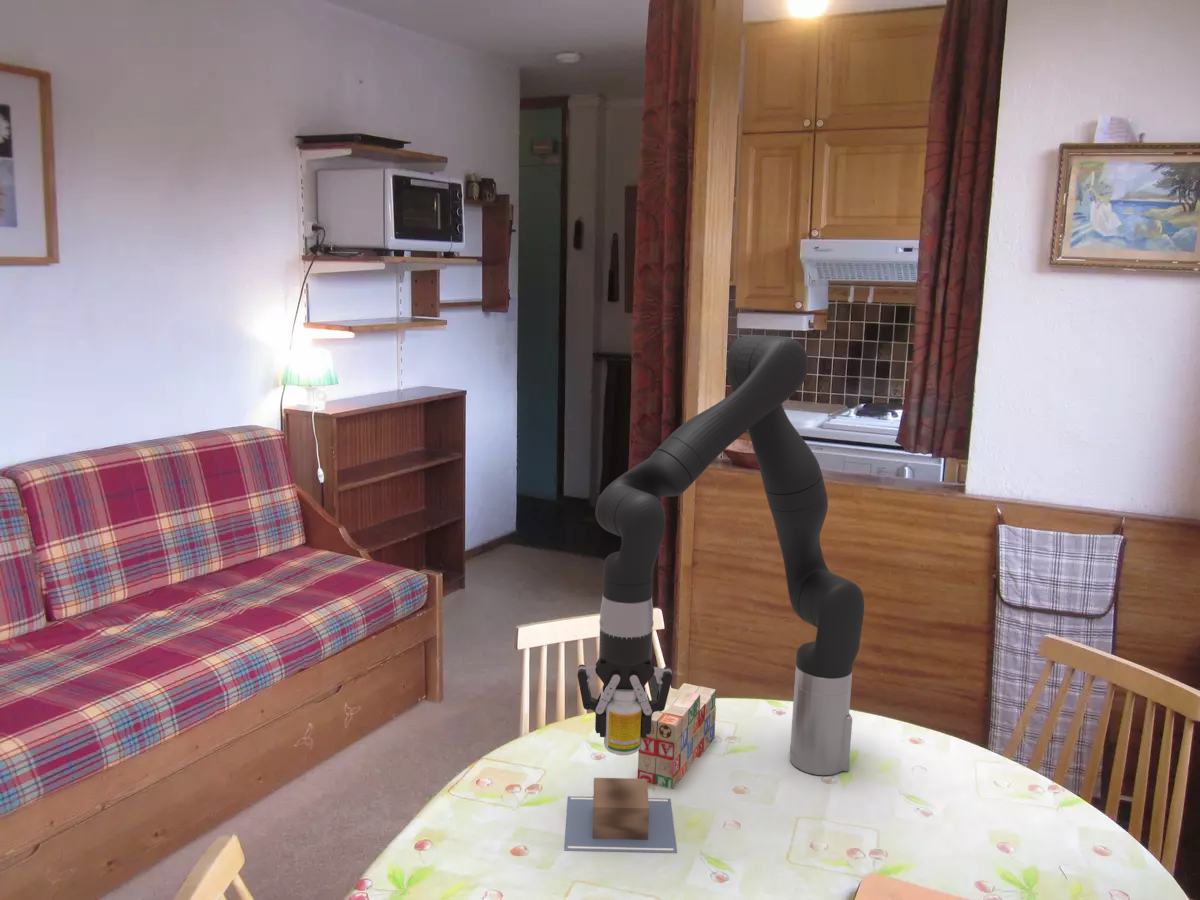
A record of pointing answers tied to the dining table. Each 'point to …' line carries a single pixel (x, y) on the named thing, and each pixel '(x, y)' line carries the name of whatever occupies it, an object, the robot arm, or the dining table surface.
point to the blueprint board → (582, 839)
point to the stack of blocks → (677, 735)
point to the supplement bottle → (623, 723)
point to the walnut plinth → (620, 809)
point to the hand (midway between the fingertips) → (622, 734)
